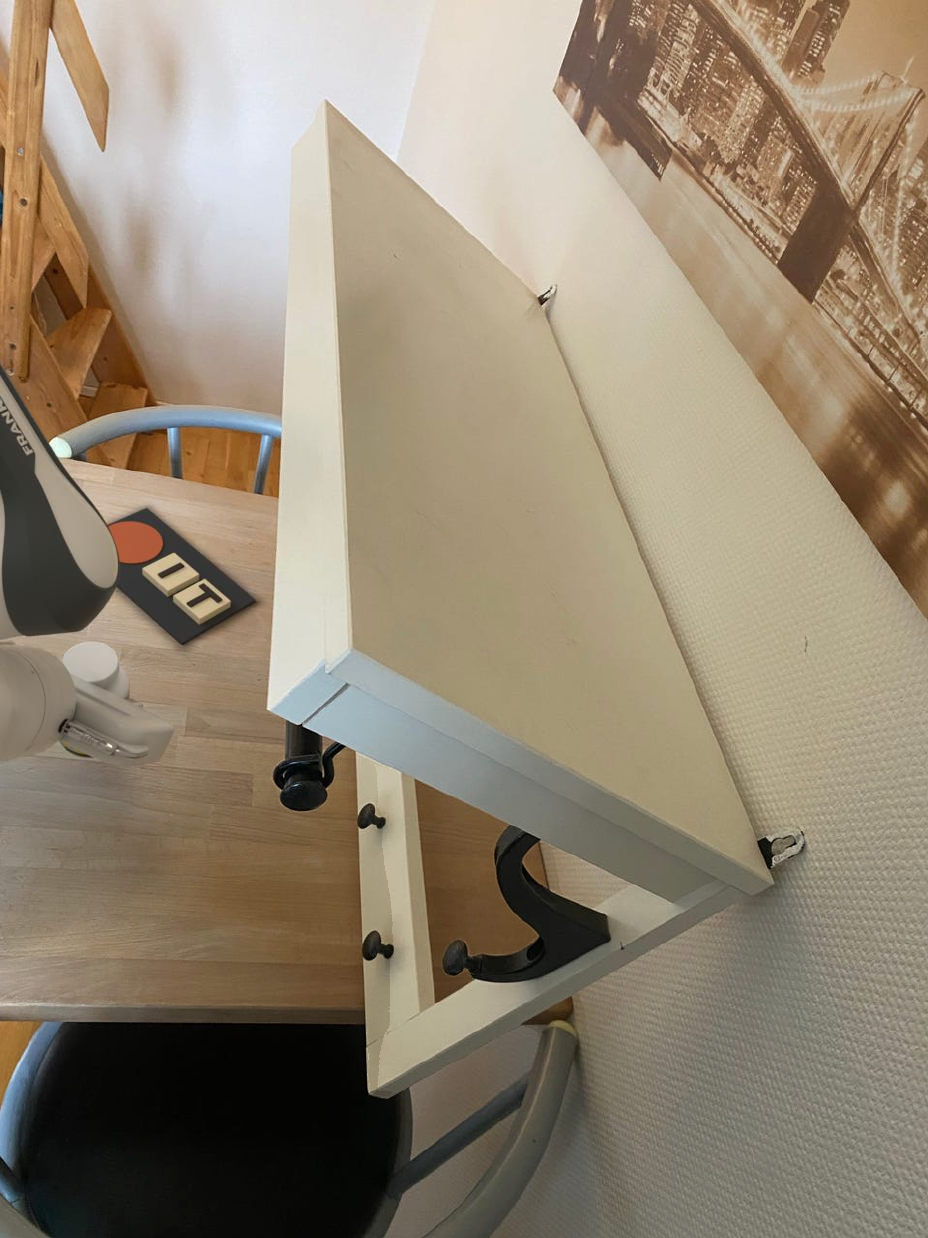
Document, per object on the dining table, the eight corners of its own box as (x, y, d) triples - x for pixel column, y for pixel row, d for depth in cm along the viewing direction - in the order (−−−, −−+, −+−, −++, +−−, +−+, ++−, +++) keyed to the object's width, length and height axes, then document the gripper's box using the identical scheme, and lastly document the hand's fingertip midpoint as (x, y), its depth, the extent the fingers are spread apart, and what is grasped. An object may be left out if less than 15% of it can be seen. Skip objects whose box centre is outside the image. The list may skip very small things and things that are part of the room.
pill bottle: (52, 715, 81) (43, 639, 73) (121, 701, 84) (120, 627, 76) (64, 769, 78) (56, 696, 69) (136, 753, 81) (136, 681, 73)
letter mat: (69, 547, 107) (67, 533, 105) (146, 512, 115) (146, 499, 113) (181, 648, 101) (182, 635, 99) (255, 604, 109) (257, 592, 107)
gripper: (147, 723, 63) (209, 708, 76) (-87, 608, 63) (16, 614, 77) (111, 797, 63) (179, 769, 76) (-122, 682, 63) (-13, 674, 77)
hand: (96, 690), depth 77 cm, fingers closed on pill bottle, 6 cm apart
